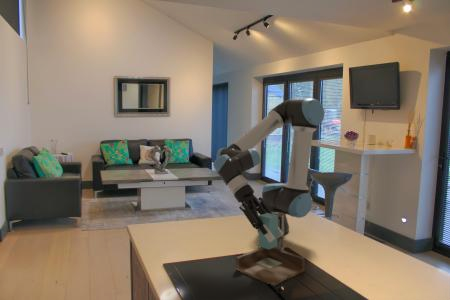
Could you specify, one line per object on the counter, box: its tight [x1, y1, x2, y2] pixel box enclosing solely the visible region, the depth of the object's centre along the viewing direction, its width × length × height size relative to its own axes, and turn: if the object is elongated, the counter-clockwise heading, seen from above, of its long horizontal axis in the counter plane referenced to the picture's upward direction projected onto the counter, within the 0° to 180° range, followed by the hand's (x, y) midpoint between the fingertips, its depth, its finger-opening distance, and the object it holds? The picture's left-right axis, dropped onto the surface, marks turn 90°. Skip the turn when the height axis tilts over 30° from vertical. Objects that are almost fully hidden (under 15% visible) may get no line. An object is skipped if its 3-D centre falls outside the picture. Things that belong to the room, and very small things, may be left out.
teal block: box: [258, 213, 278, 250], centre depth 145 cm, size 5×5×12 cm
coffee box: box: [272, 212, 285, 251], centre depth 161 cm, size 9×6×16 cm
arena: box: [235, 247, 306, 286], centre depth 142 cm, size 18×18×5 cm
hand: (276, 238), depth 143 cm, fingers closed on teal block, 6 cm apart
